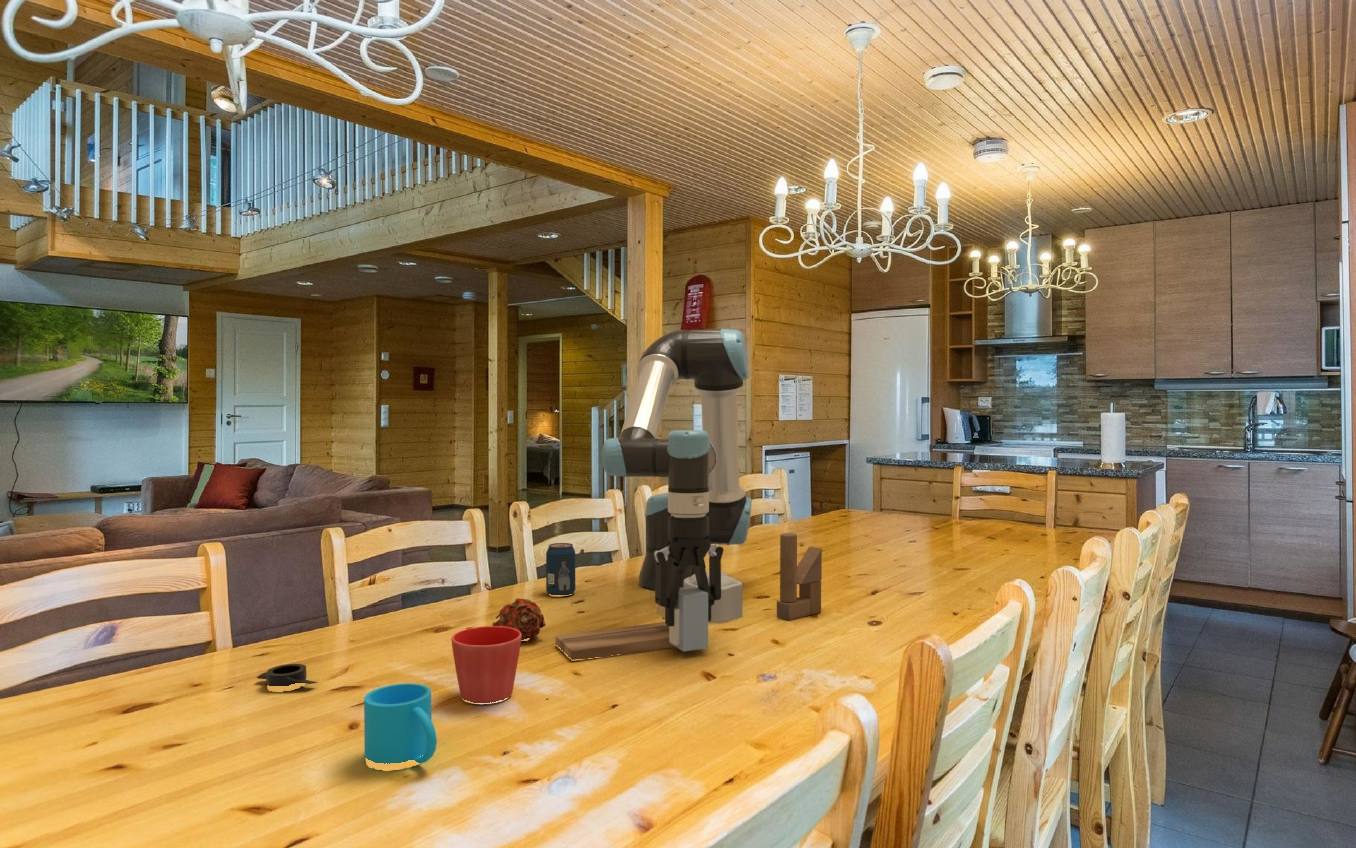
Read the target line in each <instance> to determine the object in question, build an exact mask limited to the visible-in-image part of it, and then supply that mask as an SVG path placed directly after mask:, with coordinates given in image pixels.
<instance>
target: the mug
mask: <svg viewBox="0 0 1356 848" xmlns="http://www.w3.org/2000/svg"><path fill="white" fill-rule="evenodd" d="M363 712H364V713H363V714H364V715H363V718H364V719H363V721H364V722H363V724H364V725H363V726H364V727H363V728H364V734H363V735H364V736H363V737H364V738H363V739H364V759H365V758H367V759H368V760H371V761H373V762H375V763H384V764H385V763H387V764H388V763H389V764H390V763H401V762H406V761H408V760H415V761H416V762H418V763H421V764H423V763H427V762H428V761H429V760H430V759H431V758H433V756H434V754H435V752H436V749H437V742H438V739H437V732H436V729H435V725H434V722H433V720H432V690H431V688H430V687H429V686H427V685H425V684H420V683H413V682H412V683H410V682H408V683H397V684H389V685H384V686H381V687H379V688H375V689H372V690H371V691H369V692H368V693H366V694H365V696H364V697H363ZM422 755H423V756H422ZM420 756H421V757H420Z"/></svg>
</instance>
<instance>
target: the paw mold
mask: <svg viewBox="0 0 1356 848" xmlns="http://www.w3.org/2000/svg"><path fill="white" fill-rule="evenodd" d="M706 575H707V579H708V583H709V571H708V572H707V571H706ZM691 586H694V587H696V588H698V585H697V581H696V577H695V574H694V575H692V576H691V577H688V578H686V579H685V580H684V586H683V587H691ZM743 587H744V586H743V582H742V581H740V580H738V579H736V578H734V577H732V576H729V575H728V574H727V573H725V572H722V571H721V599H720V600H716V601H715V603H714V605H712V606H711V621H708V623H713V624H714V623H715V624H724V623H728V622H731V621H733V620H736V619H740V618H742V617H743V611H744V610H743V609H744V608H743V600H744V599H743V598H744V597H743V593H744V592H743V591H744V590H743Z"/></svg>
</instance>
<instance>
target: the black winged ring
mask: <svg viewBox="0 0 1356 848" xmlns="http://www.w3.org/2000/svg"><path fill="white" fill-rule="evenodd" d="M256 678H258V679H257V680H266V682H265V683H267V684H268V685H269V686H289V685H291V684H295V683H306V685H311V684H316V683H318V681H313V680H309V679H307V680H306V678H307V666H306V665H305V664H303V663H287V664H280V665H277V666H274V667H270V668H269V669H268V670H267V671H266V672H263V673H261V674H259V675H258V676H256Z"/></svg>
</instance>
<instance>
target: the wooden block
mask: <svg viewBox="0 0 1356 848" xmlns="http://www.w3.org/2000/svg"><path fill="white" fill-rule="evenodd" d="M779 535H780V537H779V546H780V547H779V557H780V558H779V600H777V601H776V617H777V618H778V619H782V620H784V621H785V620H786V621H793V620H796V619H800V618H804V617H808V616H813V615H815V614H816V615H817V614H819V613H822V575H823V574H822V571H823V570H822V563H823V561H822V557H823V556H822V555H823V554H822V550H823V549H822V547H815V546H808V548H807V549H806V551H805V553H804V554H803V555H802V558H801V559H800V561H799V563H798V535H797V534H796V533H794V532H784V533H783V532H782V533H781V534H779ZM798 592H799V593H798ZM798 595H799V596H798Z"/></svg>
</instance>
